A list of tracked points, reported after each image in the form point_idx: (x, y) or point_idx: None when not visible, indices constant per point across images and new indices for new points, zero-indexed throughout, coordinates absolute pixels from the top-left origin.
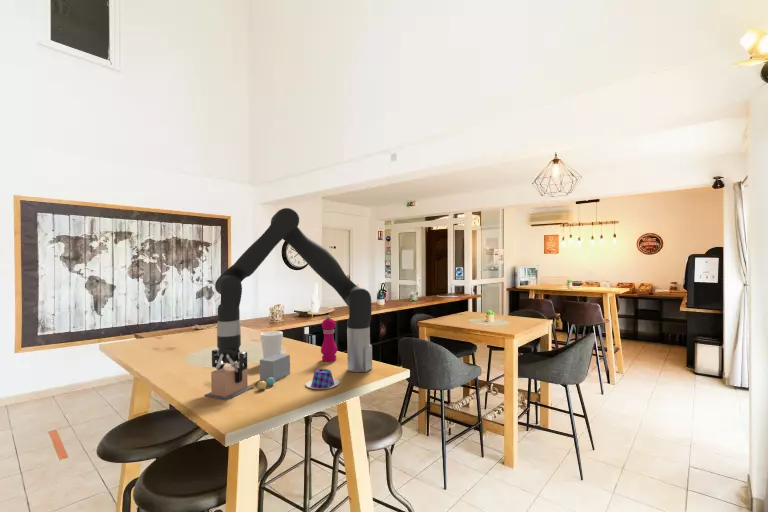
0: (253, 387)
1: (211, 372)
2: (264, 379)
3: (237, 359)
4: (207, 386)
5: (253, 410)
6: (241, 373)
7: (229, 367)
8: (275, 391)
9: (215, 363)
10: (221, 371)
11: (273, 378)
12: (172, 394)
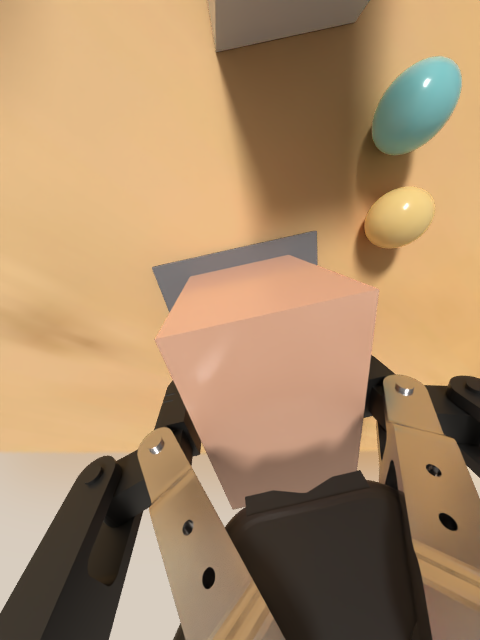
0: (315, 231)
1: (234, 505)
2: (264, 34)
3: (435, 509)
4: (83, 352)
5: (459, 372)
6: (387, 374)
7: (243, 417)
8: (464, 196)
9: (132, 528)
10: (285, 478)
11: (460, 77)
12: (94, 451)
